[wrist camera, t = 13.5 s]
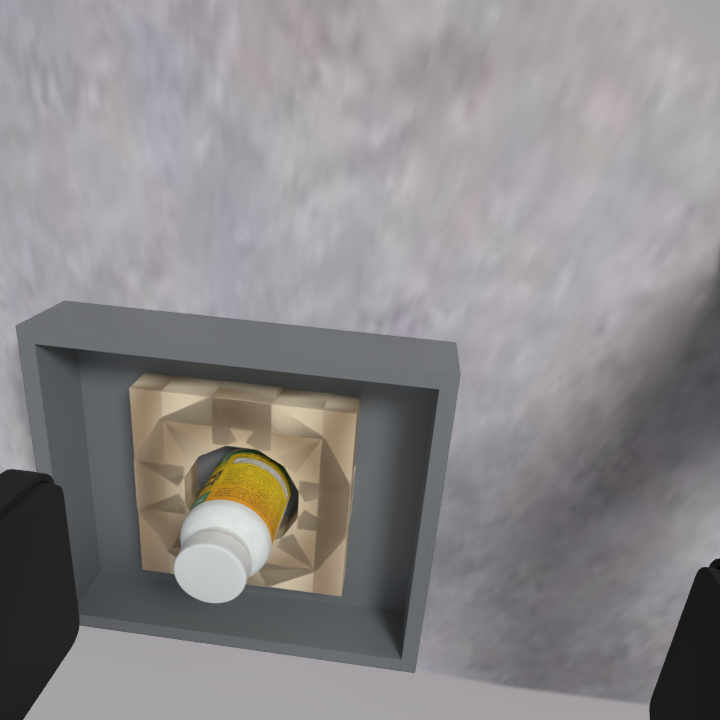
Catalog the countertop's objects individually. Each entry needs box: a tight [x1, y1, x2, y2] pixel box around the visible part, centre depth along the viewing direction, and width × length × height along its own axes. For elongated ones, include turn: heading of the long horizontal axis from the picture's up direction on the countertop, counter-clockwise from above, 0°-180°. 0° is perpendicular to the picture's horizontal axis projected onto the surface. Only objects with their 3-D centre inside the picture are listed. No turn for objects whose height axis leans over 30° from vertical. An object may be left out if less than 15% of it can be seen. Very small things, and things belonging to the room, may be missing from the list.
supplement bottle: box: [174, 448, 292, 603], centre depth 37 cm, size 5×5×10 cm
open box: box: [16, 301, 460, 673], centre depth 40 cm, size 25×22×5 cm
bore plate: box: [129, 373, 361, 596], centre depth 40 cm, size 14×14×2 cm
